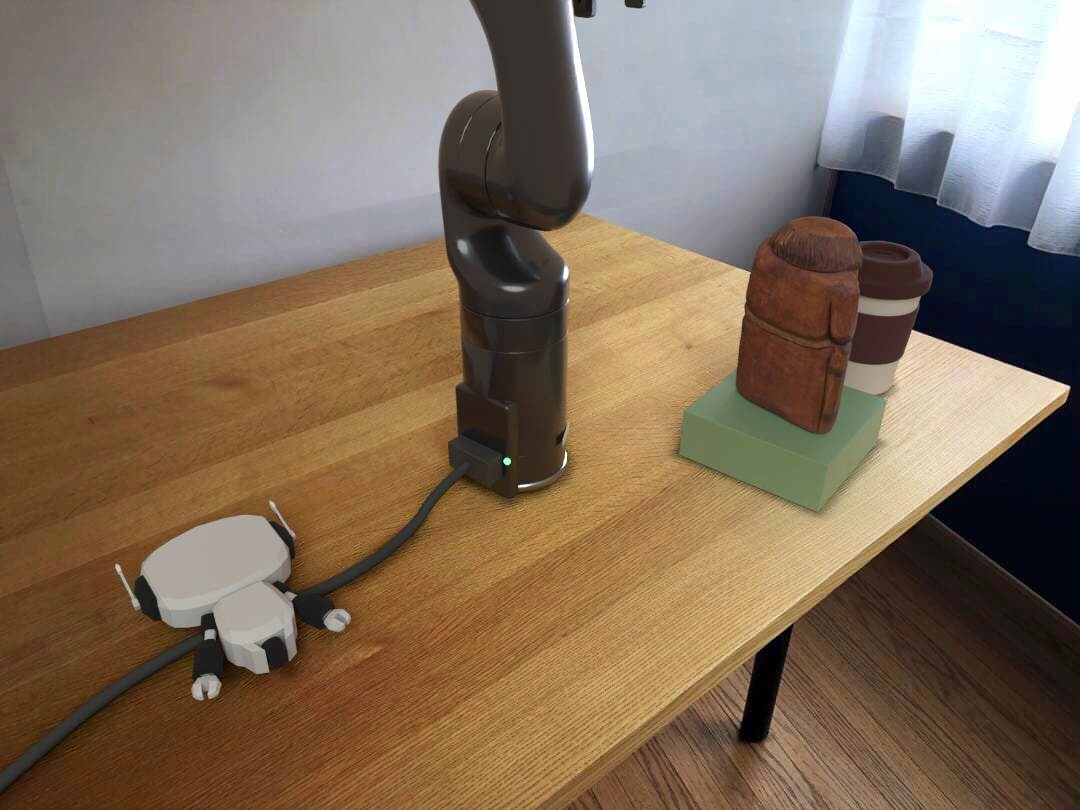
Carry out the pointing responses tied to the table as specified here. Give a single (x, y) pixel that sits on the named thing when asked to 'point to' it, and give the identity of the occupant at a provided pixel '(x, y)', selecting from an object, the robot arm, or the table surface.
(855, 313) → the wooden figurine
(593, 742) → the table surface
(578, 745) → the table surface
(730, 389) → the green block
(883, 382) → the coffee cup
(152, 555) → the robot toy
